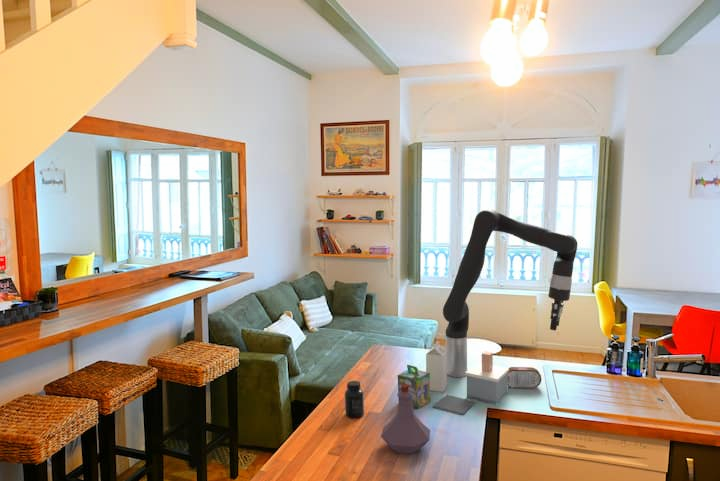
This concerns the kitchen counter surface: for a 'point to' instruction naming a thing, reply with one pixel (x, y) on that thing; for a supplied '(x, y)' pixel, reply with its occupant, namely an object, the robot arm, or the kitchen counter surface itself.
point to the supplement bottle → (354, 400)
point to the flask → (405, 427)
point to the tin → (523, 377)
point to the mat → (454, 404)
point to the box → (486, 389)
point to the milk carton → (437, 367)
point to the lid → (487, 369)
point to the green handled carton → (416, 385)
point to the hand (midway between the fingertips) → (554, 327)
